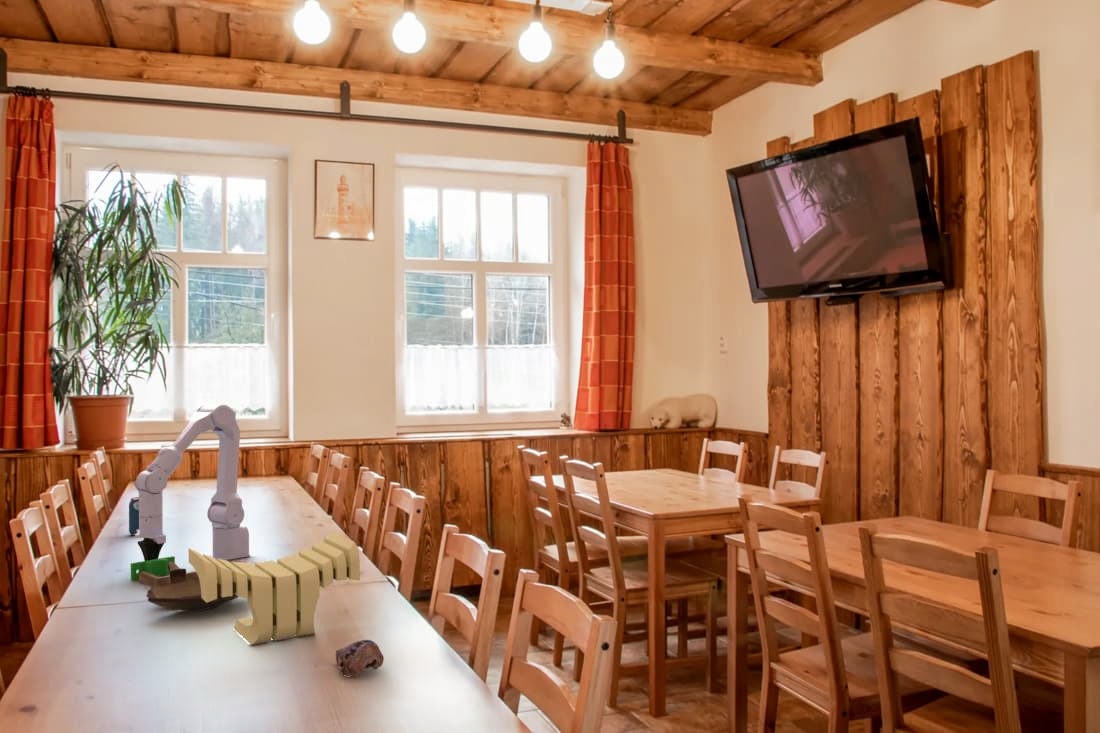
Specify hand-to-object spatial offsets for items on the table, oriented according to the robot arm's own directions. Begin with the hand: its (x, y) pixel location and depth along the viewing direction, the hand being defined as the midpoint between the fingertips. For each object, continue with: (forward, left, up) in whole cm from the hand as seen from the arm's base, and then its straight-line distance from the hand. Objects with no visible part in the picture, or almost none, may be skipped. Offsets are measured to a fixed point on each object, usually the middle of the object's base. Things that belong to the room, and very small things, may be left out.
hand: (151, 567), depth 234 cm
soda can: (-19, -58, -2) cm, 61 cm away
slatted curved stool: (+4, +74, -2) cm, 74 cm away
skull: (+5, +105, -2) cm, 105 cm away
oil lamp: (+5, +41, -2) cm, 42 cm away
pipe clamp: (+2, +6, -2) cm, 7 cm away
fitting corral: (-3, +14, -1) cm, 14 cm away
